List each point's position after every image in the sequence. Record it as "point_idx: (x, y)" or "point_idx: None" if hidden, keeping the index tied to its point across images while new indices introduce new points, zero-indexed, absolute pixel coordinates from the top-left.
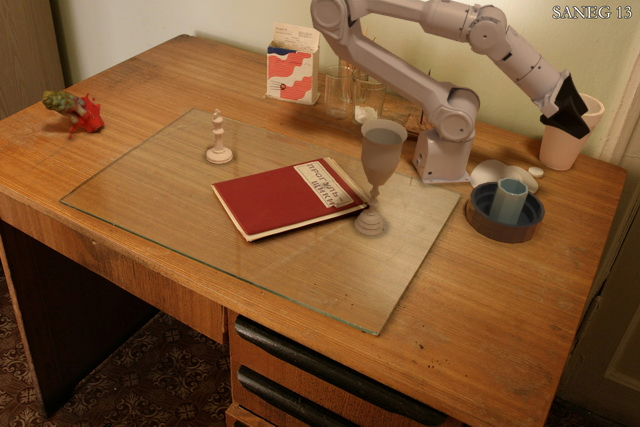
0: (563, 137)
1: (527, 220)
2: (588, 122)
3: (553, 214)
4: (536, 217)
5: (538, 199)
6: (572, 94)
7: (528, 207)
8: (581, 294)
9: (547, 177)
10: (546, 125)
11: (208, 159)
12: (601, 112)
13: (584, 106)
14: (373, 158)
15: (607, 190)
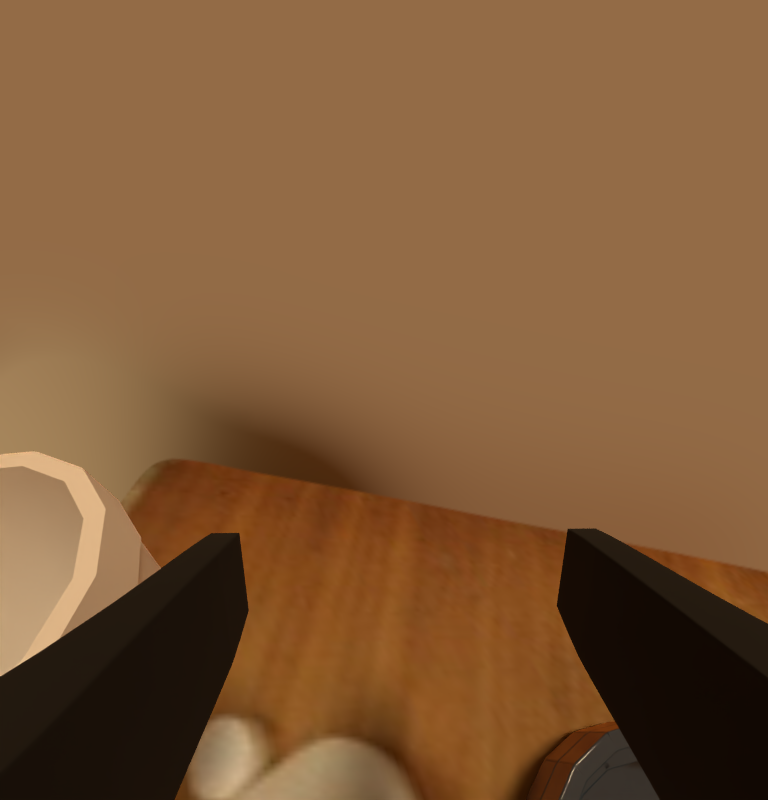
0: None
1: (599, 779)
2: (127, 537)
3: (480, 661)
4: (629, 748)
5: (586, 762)
6: (79, 759)
7: (581, 796)
8: (762, 573)
9: (259, 695)
10: None
11: None
12: (65, 468)
13: (216, 565)
14: None
15: (287, 497)
